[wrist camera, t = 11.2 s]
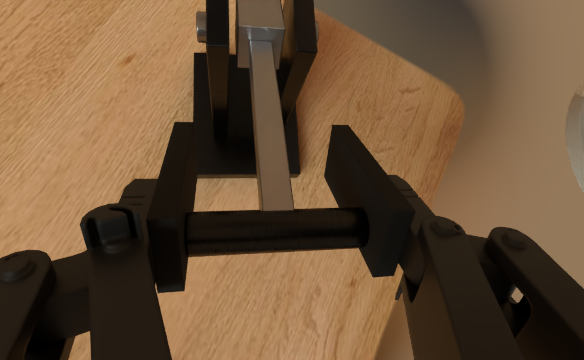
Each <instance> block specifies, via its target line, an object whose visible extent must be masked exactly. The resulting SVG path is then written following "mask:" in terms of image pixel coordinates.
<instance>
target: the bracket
mask: <svg viewBox="0 0 584 360" xmlns="http://www.w3.org/2000/svg"><path fill="white" fill-rule="evenodd" d="M283 17H284V23H285V36H284V42H283V48H282V55H281V61H280V67H279V69H276V74H277V82H278V89H279V97H280V105H281V112H282V120H283V127H284V135H285V142H286V150H287V157H288V165H289V172H290V178H296V177H298V176H299V175H300V162H299V146H298V130H297V114H296V100H297V98H298V95H299V93H300V91H301V88H302V86H303V84H304V82H305V79H306V77H307V75H308V73H309V70H310V68H311V66H312V64H313V61H314V59H315V57H316V54H317V52H318V50H317V42H318V36H319V27H318V22H317V21H315V13H314V2H313V0H285V2H284V6H283ZM196 30H197V40H198V42H201V43H206V52H207V53H194V103H193V122H194V135H195V151H196V167H197V178H257V169H256V155H255V141H254V128H253V114H252V100H251V86H250V72H249V68H240V67H237V63H236V55H229V0H206V12H200V11H197V13H196Z"/></svg>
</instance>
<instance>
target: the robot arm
mask: <svg viewBox="0 0 584 360" xmlns="http://www.w3.org/2000/svg"><path fill="white" fill-rule="evenodd" d="M324 177H325V179H326V181H327V183H328V186H329V188H330V190H331V192H332V194H333V196H334V198H335V200H336V202H337V204H338V206H339V208H350V207H360V208H362V209H363V210H364V211H365V213H366V215H367V218H368V223H369V238H368V242H367V244H366V246H365V247H363V248H359V250H360V252H361V254H362V256H363V258H364V260H365V262H366V264H367V266H368V268H369V270H370V272H371V274H372V277H384V276H394V274H395V271H396V268H397V265H398V263H399V265H400V266H401V268H402V270H403V271H404V273H403V275H402V278H401V281H400V284H399V287H398V289H397V292H396V296H395V300H399V297H400V295H401V293H403V301H404V305H405V310H406V316H407V322H408V326H409V333H410V338H411V344H412V350H413V355H414V360H584V289H583V288H582V287H581V286H580V285H579V284H578V283H577V282H576V281H575V280H574V279H573V278H572V277H571V276H570V275H568V273H567V272H565V271H564V270H563V269H562V268H561V267H560V266H559V265H558V264H557V263H556V262H555V261H554V260H553V259H552V258H551V257H550V256H549V255H548V254H547V253H546V252H545V251H544V250H543V249H541V247H539V246H538V245H537V244H536V243H535V242H534V241H533V240H532V239H531V238H529V237H528V236H527V235H525V234H523V233H521V232H520V231H518V230H515V229H512V228H506V227H496V228H494V229H492V230H491V232H490V234H489V236H488V238H483V237H478V236H472V235H467V234H466V233H465V231H464V230H463V229H462V227H461V226H460V225H458V224H457V223H455V222H454V221H452V220H450V219H447V218H444V217H440V216H435V215H434V213H433V212H432V211H431V210H430V209H429V208H428V206H427V205H426V204H425V203H424V202H423V201H422V199H421V198H420V197H418V195H417V194H416V192H415V191H413V189H412V188H411V186H410V185H409V184H408V183H407V182H406V181H405V180H403V179H401V178H400V177H398V176H397V175H387V174H386V172H385V171H384V170H383V169H382V167H381V166H380V165H379V164H378V162H377V161H376V160H375V158H374V157H373V156H372V155H371V153H370V152H369V151H368V150H367V148H366V147H365V146H364V144H363V143H362V142H361V141H360V139H359V138H358V137H357V136H356V134H355V133H354V132H353V131H352V129H351V128H350V127H349V125H332V130H331V137H330V143H329V149H328V155H327V162H326V168H325V174H324ZM196 184H197V167H196V151H195V135H194V122H175V123H174V127H173V130H172V133H171V137H170V140H169V143H168V147H167V150H166V154H165V157H164V160H163V164H162V167H161V171H160V174H159V177H158V179H135V180H133V181H132V182H131V183H130V184H128V185H127V186H126V187H125V189H124V191H123V193H122V196H121V198H120V200H119V203H115V204H107V205H104V206H100V207H97V208H95V209H93V210H91V211H90V212H88V213H87V214H86V215H85V216H84V217H83V218H82V220H81V223H80V227H81V230H82V233H83V237H84V240H85V244H86V247H87V250H86V251H84V252H82V253H79V254H76V255H73V256H70V257H66V258H62V259H58V260H54V261H51V259H50V257H49V256H48V254H47V253H45V252H42V251H40V250H25V251H20V252H15V253H12V254H10V255H7V256H5V257H2V258H1V259H0V360H68V359H69V355H70V352H71V349H72V346H73V343H74V339H75V336H77V335H80V334H82V333H85V332H88V331H90V338H91V360H172V358H171V353H170V349H169V345H168V340H167V336H166V332H165V327H164V323H163V319H162V315H161V310H160V306H159V302H158V297H157V293H156V289H155V284H156V285H157V291H158V293H164V292H177V291H184V290H185V281H186V272H187V263H188V256H187V255H186V251H185V219H186V215H187V213H188V212H193V210H194V201H195V193H196ZM516 287H517V288H518V289H519V290H520V291H521V293H522V294H523V295H524V296H523V297H522V299H521V300H520V302H519V303H517V302H516V301H515V300H514V299H513V298H512V297H511V295H512V294H513V292H514V290H515V289H516Z"/></svg>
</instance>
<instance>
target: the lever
mask: <svg viewBox="0 0 584 360" xmlns="http://www.w3.org/2000/svg"><path fill="white" fill-rule="evenodd" d="M284 36H285V23H284V17H283V11H282V5H281V0H236V21H235V41H236V63H237V67H240V68H249V72H250V86H251V100H252V114H253V128H254V141H255V155H256V169H257V183H258V197H259V210H243V211H207V212H188V213H187V215H186V219H185V251H186V255H187V256H188V257H200V256H219V255H238V254H257V253H276V252H295V251H314V250H333V249H352V248H363V247H365V246H366V244H367V242H368V238H369V223H368V218H367V215H366V213H365V211H364V210H363V209H362V208H360V207H350V208H314V209H294V203H293V195H292V188H291V180H290V172H289V165H288V157H287V150H286V142H285V135H284V127H283V120H282V112H281V105H280V97H279V89H278V82H277V74H276V69H279V67H280V61H281V55H282V48H283V42H284Z"/></svg>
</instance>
